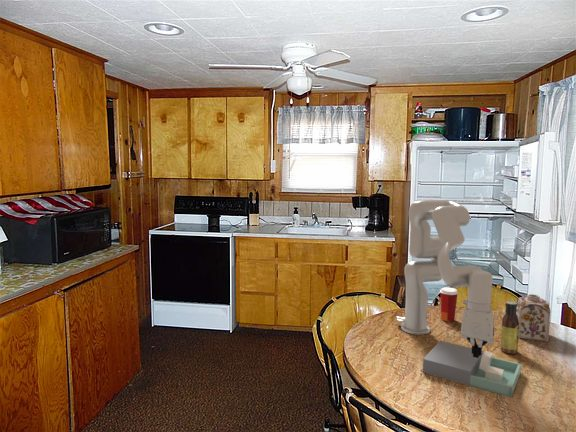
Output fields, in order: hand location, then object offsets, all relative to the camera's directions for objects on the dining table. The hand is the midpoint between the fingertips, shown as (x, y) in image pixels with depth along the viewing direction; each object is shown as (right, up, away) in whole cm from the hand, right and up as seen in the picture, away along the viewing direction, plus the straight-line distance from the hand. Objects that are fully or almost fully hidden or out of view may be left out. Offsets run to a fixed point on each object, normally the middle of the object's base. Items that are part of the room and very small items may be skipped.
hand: (476, 356), depth 150 cm
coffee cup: (+10, -1, +55) cm, 56 cm away
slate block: (-6, -6, +5) cm, 10 cm away
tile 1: (+2, -1, -1) cm, 2 cm away
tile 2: (+5, -4, -3) cm, 7 cm away
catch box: (+6, -7, -3) cm, 9 cm away
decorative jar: (+40, -3, +36) cm, 54 cm away
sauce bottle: (+22, -5, +20) cm, 30 cm away
